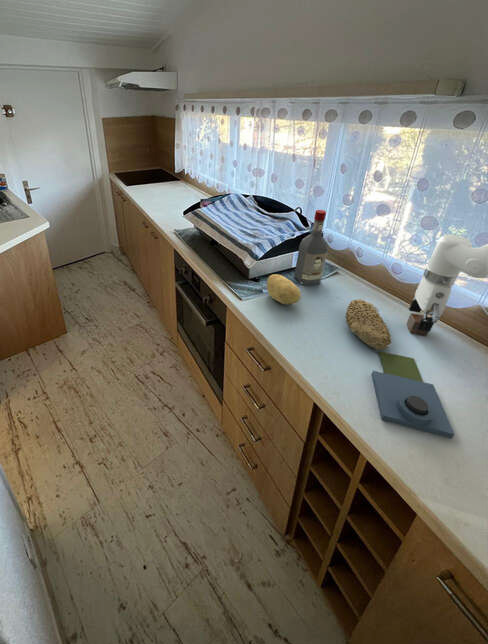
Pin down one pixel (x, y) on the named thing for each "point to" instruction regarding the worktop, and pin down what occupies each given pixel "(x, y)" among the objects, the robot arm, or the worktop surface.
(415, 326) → the block
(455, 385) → the worktop surface
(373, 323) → the sponge
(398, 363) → the pad
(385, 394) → the box
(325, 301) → the worktop surface
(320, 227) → the liquor
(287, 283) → the potato
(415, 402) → the button
